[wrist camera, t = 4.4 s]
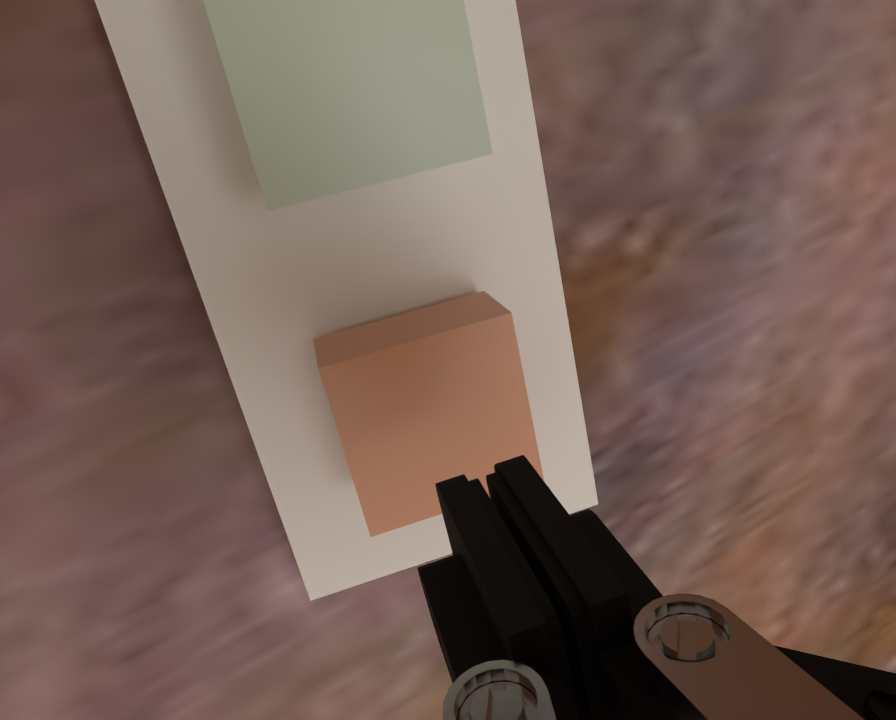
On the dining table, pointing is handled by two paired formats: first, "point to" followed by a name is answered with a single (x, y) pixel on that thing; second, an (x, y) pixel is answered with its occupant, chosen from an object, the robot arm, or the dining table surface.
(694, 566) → the dining table surface
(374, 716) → the dining table surface
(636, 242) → the dining table surface
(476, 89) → the sage key
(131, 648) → the dining table surface
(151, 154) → the keypad base
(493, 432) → the terracotta key
